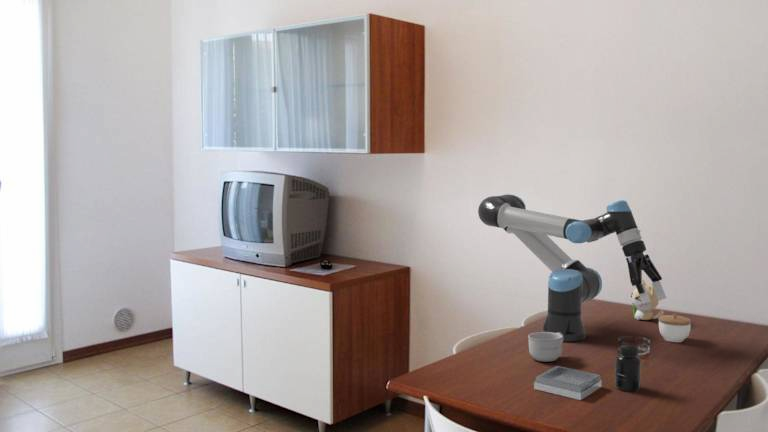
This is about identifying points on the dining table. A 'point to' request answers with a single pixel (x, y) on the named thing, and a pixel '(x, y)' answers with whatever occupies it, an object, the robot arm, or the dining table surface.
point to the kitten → (645, 304)
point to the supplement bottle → (628, 369)
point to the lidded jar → (674, 327)
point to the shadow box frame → (568, 382)
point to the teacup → (545, 345)
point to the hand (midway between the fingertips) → (654, 301)
